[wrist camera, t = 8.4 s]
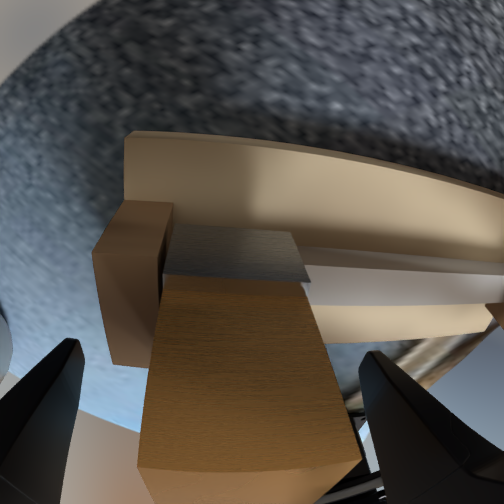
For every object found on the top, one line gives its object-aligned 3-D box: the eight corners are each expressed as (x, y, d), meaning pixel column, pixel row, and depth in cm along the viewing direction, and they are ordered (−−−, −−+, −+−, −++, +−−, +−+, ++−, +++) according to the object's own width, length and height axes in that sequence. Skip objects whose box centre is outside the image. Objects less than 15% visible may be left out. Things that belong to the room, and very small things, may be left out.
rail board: (474, 318, 21) (510, 367, 16) (139, 317, 17) (122, 399, 12) (529, 203, 16) (582, 243, 11) (134, 130, 12) (84, 168, 7)
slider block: (267, 334, 14) (300, 513, 7) (174, 330, 13) (161, 516, 6) (290, 232, 11) (372, 447, 5) (174, 223, 11) (131, 456, 4)
